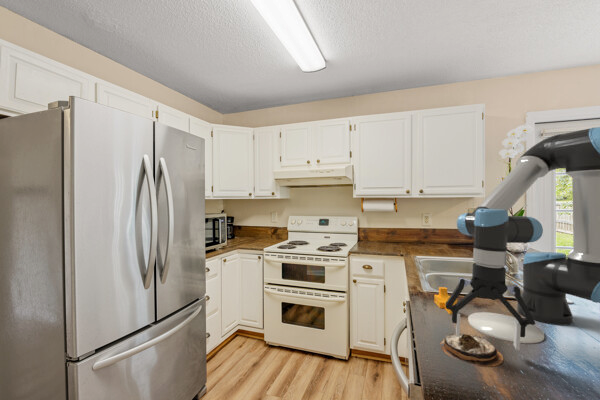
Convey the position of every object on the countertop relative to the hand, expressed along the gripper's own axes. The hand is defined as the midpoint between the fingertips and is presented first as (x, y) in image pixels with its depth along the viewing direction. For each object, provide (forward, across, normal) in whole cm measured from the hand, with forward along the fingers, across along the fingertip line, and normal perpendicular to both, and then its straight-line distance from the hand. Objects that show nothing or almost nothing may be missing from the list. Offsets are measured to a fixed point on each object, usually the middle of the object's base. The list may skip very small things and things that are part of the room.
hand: (485, 341), depth 76 cm
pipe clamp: (+4, +9, -31) cm, 32 cm away
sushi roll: (+6, -2, -1) cm, 7 cm away
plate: (+3, -8, -20) cm, 22 cm away
